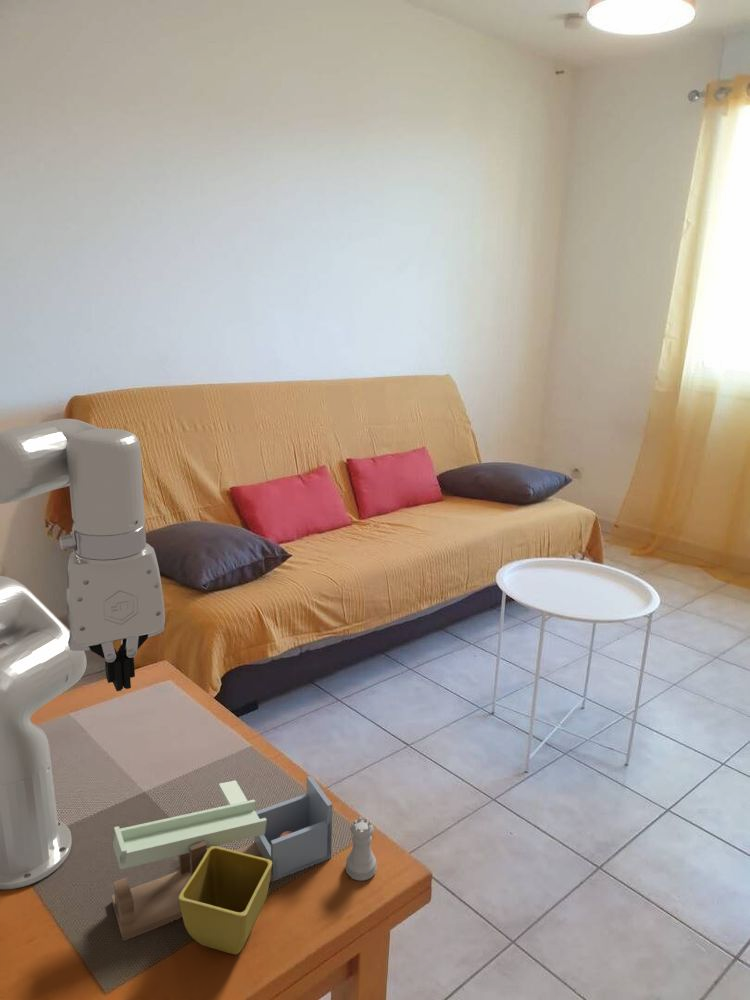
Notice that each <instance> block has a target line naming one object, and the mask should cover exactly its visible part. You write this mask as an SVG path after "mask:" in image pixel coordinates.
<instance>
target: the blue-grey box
mask: <svg viewBox="0 0 750 1000" xmlns="http://www.w3.org/2000/svg"><path fill="white" fill-rule="evenodd" d="M255 812H256V813H257V815H258V817H259V819H262V818H266V820H267V822H266V829H265V834H263V835H259V836H255V837H253V838H254V843H255V844H256V846H257V847H258V849H259V851H260V853H261V855H262V856H263V858H265V859H269V860H271V861H272V868H271V873H272V875H273V881H272V882H275V881H277V880H280V879H283V878H285V877H288V876H290V875H292V874H294V873H297V872H300V871H302V870H304V868H305V869H307V868H309V866H310V867H312V866H315V865H317V864H319V863H322V862H325V861H327V860H329V859H332V842H333V841H332V836H333V832H332V831H333V803H332V802H331V800H330V799H329V797H328V796H327V795H326V794H325V792H324V790H323V789H322V788H321V786H320V785H319V784H318V783H317V781H316V780H315V778H314V777H313V776H312V775H308V776H306V793H304V794H302V795H301V794H300V795H299V796H296V797H292V798H290V799H287V800H283V801H281V802H279V803H276V804H272V805H270V806H268V807H265V808H262V809H258V810H255ZM286 831H291V832H293V833H290V834H288V835H285V836H282V837H280V835H281V834H282V833H284V832H286ZM279 837H280V838H279ZM314 864H315V865H314ZM299 870H300V871H299ZM296 871H297V872H296ZM289 874H290V875H289ZM287 875H288V876H287ZM284 876H285V877H284ZM282 877H283V878H282ZM279 878H280V879H279Z"/></svg>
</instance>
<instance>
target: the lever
mask: <svg viewBox="0 0 750 1000" xmlns="http://www.w3.org/2000/svg"><path fill="white" fill-rule="evenodd" d="M217 788H218V790H219V793H220V795H221V796H222V798H223V800H224V801H225V804H226V805H223V806H218V807H213V808H208V809H205V810H199V811H195V812H192V813H190V814H186V813H184V814H185V815H183V814H180V815H175V816H172V817H167V818H163V819H158V820H153V821H148V822H144V823H140V824H136V825H135V824H134V825H130V826H126V827H122V828H120V826H114V827H113V835H112V838H113V839H112V847H113V850H114V854H115V858H116V860H117V861H116V862H117V864H118V867H119V870H120V871H121V870H125V869H128V868H129V869H130V868H133V867H137V866H141V865H145V864H149V863H153V862H158V861H161V860H165V859H169V858H173V857H177V856H178V857H179V855H182V854H186V853H190V848H189V846H192V845H194V844H197V843H200V842H203V841H205V842H206V845H207V849H209V847H211V846H217V847H219V846H222V845H226V844H230V843H233V842H238V841H239V842H240V841H243V840H246V839H250V838H254V837H255V836H259V835H263V834H265V829H266V822H267V820H266V818H262V819H259V817H258V815H257V813H256V812H255V811H256V800H255V799H251V800H248V799H247V797H246V795H245V794H244V792H243V790H242V789H241V787H240V785H239V784H238V782H237V780H229V781H227V782H226V781H225V782H221V783H218V787H217Z"/></svg>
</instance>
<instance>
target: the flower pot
mask: <svg viewBox="0 0 750 1000" xmlns="http://www.w3.org/2000/svg"><path fill="white" fill-rule="evenodd" d="M233 850H234V849H228V848H225V847H221V846H211V847H209V848H207V852H206V854H205V855H204V857H203V859H202V860H201V862H200V864H199V865H198V867H197V869H196V870H195V872H194V873H193V875H192V876H191V878H190V879H189V881H188V882H187V884H186V885H185V887H184V889H183V890H182V891H181V893H180V895H179V897H178V899H179V903H180V908H181V912H182V920H183V924H184V927H185V929H186V931H187V933H188V934H189V936H190V937H191V938H192V939H193V940H194V941H196V943H199V944H200V945H201V946H204V947H206V948H211V949H213V950H217V951H220V952H223V953H228V954H232V955H238V954H239V953H240V952H241V951H242V950H243V949H244V946H245V944H246V943H247V941H248V939H249V935H250V934H251V932H252V929H253V927H254V926H255V923H256V921H257V919H258V918H259V916H260V913H261V912H262V909H263V907H264V905H265V903H266V899H267V896H268V893H269V888H270V887H269V886H270V883H271V882H270V875H271V868H272V861H271V860H269V859H265V858H262V857H257V856H253V855H249V854H245V853H241V852H237V851H233Z"/></svg>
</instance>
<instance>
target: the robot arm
mask: <svg viewBox="0 0 750 1000" xmlns="http://www.w3.org/2000/svg"><path fill="white" fill-rule="evenodd" d="M141 449H142V448H141V442H140V440H139V437H138V436H137V435H136V434H134V433H133V432H131V431H128V430H125V429H120V428H101V427H98V426H95V425H94V424H90V423H88V422H85V421H83V420H80V419H75V418H58V419H54V420H49V421H43V422H38V423H34V424H33V423H32V424H28V425H24V426H18V427H13V428H8V429H5V430H0V505H1V504H4V505H5V504H11V503H16V502H21V501H23V500H24V501H25V500H28V499H29V498H32V497H35V496H39V495H42V494H45V493H47V492H51V491H54V490H58V489H61V488H63V489H64V488H67V487H69V494H70V495H69V497H70V505H71V506H70V507H71V508H70V509H71V517H72V518H71V519H72V526H71V530H72V531H70V532H69V533H70V534H67V535H65V536H60V537H59V545H60V549H61V550H65V549H68V550H72V552H71V553H69V559H68V565H67V577H66V610H67V611H66V613H67V615H66V616H67V621H68V622H67V623H68V626H69V628H68V627H67V626H66V625H65V624H64V623H63V622H62V621H61V620H60V619H59V618H58V617H57V616H56V615H55V614H54V613H53V612H52V611H51V610H50V608H48V607H47V606H46V605H45V604H44V603H43V602H42V601H41V600H40V599H39V598H38V596H36V595H35V594H34V593H33V592H32V591H31V590H30V589H29V588H27V586H25V584H23V583H21V582H20V581H18V580H16V579H13V578H11V577H8V576H5V575H0V645H3V644H6V645H4V646H3V647H1V648H0V890H13V889H17V888H18V889H19V888H23V887H26V886H29V885H32V884H35V883H37V882H39V881H42V880H43V879H44V878H46V877H48V876H49V875H51V874H53V872H55V871H56V870H57V869H58V868H60V866H61V865H62V864H63V863H65V861H66V859H67V858H68V856H69V854H70V852H71V849H72V845H73V840H72V833H71V830H70V828H69V827H68V825H66V824H65V823H64V822H63V821H60V820H59V819H58V813H57V804H56V793H55V785H54V777H53V770H52V769H53V768H52V761H51V751H50V745H49V740H48V737H47V735H46V733H45V731H44V730H43V729H42V728H41V727H39V726H38V725H37V724H35V723H33V722H32V720H31V718H32V715H34V713H35V712H36V711H38V710H40V708H42V707H44V706H45V705H46V704H48V703H50V702H51V701H52V700H53V699H55V698H57V697H58V696H60V695H61V694H63V693H64V692H66V691H67V690H69V689H70V688H71V687H73V686H74V685H75V684H76V683H78V681H80V680H81V678H82V677H83V676H84V673H85V672H86V668H87V663H88V662H87V655H86V652H87V651H91V652H93V653H95V654H96V655H98V656H99V657H100V658H103V659H104V666H105V667H104V668H105V677H106V681H107V684H110V683H113V686H114V689H115V691H116V692H120V691H122V690H124V689H125V690H128V689H131V688H132V683H131V682H132V681H131V678H135V677H136V671H135V658H134V657H136V656H137V654H138V651H139V649H140V648H141V646H143V644H145V641H146V640H147V639H148V638H151V637H154V636H157V635H158V634H161V633H163V632H164V631H165V630H166V627H165V623H166V611H165V601H164V593H163V587H162V579H161V574H160V567H159V564H158V558H157V555H156V552H155V549H154V547H153V546H151V545H150V544H149V543H147V534H146V518H145V516H146V515H145V501H144V485H143V482H144V481H143V466H142V465H143V464H142V450H141ZM116 641H120V642H121V643H120V646H119V647H118V650H117V649H116V648H115V647H114V642H116Z"/></svg>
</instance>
